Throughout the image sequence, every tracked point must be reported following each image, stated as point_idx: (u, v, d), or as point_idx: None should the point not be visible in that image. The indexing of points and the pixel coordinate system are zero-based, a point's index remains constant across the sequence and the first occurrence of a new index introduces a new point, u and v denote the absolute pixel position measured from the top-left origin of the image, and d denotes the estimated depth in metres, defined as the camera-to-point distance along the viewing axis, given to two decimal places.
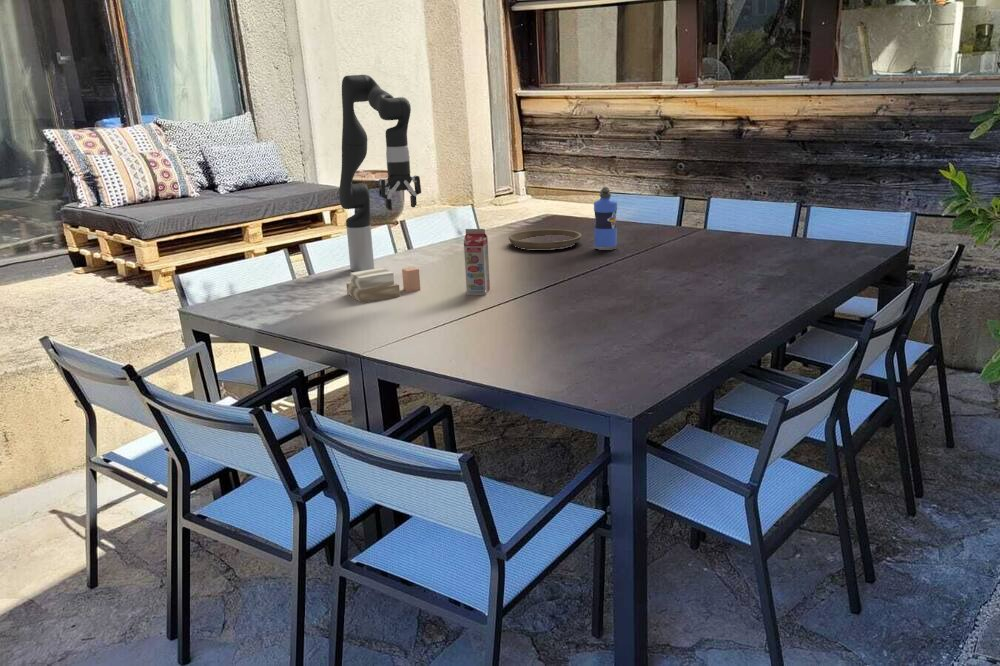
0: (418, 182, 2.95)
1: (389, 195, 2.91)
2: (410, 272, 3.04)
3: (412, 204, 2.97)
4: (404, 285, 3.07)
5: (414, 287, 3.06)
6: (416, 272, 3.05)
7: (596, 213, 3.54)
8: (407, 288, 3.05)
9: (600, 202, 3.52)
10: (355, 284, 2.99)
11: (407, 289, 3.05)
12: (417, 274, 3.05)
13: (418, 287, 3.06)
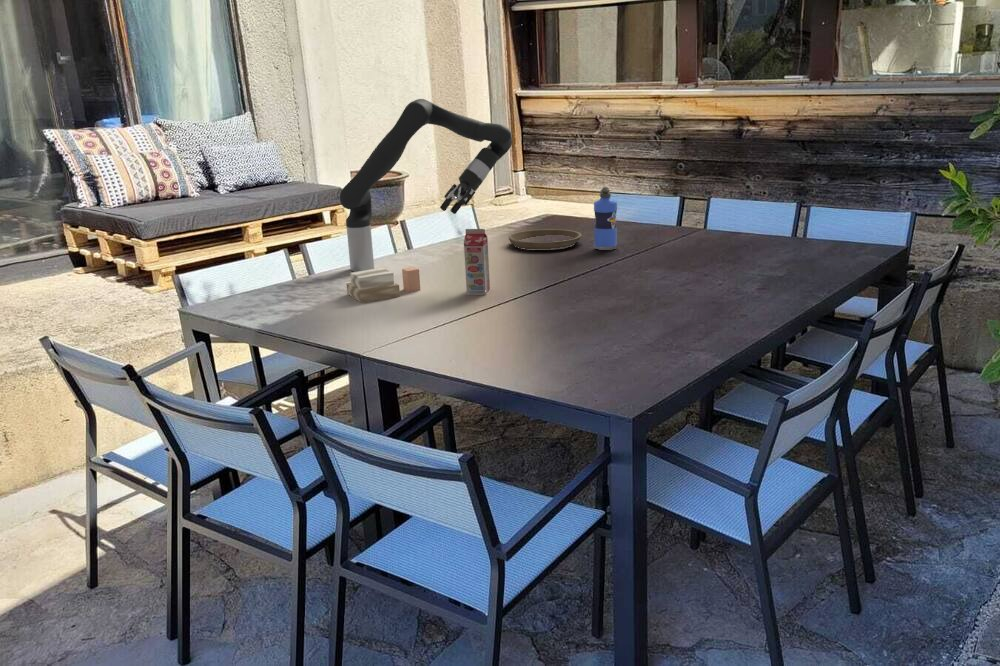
0: None
1: None
2: (410, 272, 3.04)
3: (444, 208, 3.11)
4: (404, 285, 3.07)
5: (414, 287, 3.06)
6: (416, 272, 3.05)
7: (596, 213, 3.54)
8: (407, 288, 3.05)
9: (600, 202, 3.52)
10: (355, 284, 2.99)
11: (407, 289, 3.05)
12: (417, 274, 3.05)
13: (418, 287, 3.06)
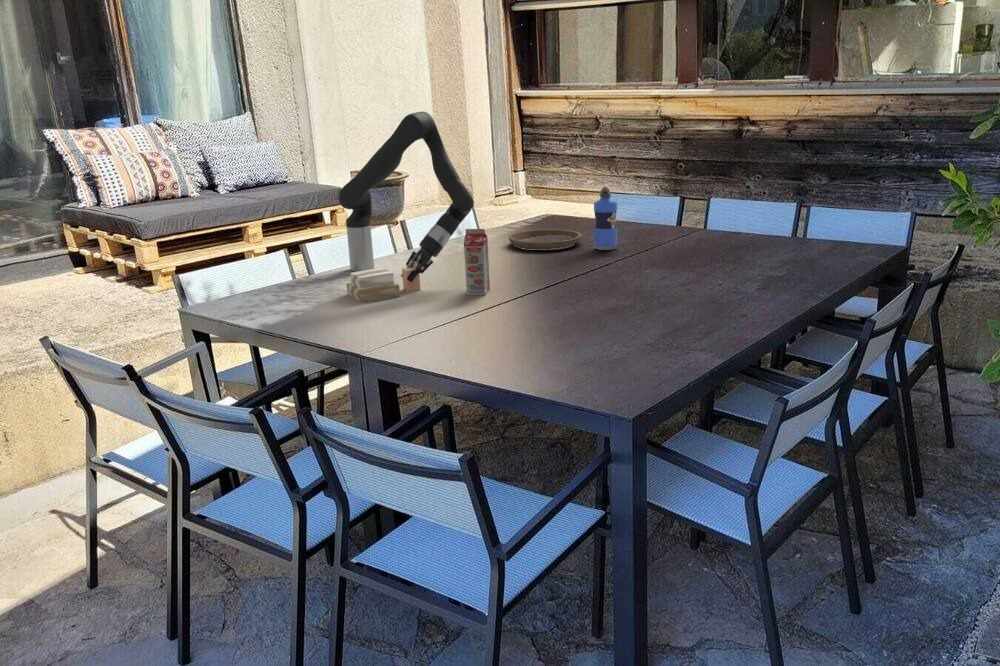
0: None
1: None
2: (410, 272, 3.04)
3: None
4: (404, 285, 3.07)
5: (414, 287, 3.06)
6: None
7: (596, 213, 3.54)
8: (407, 288, 3.05)
9: (600, 202, 3.52)
10: (355, 284, 2.99)
11: (407, 289, 3.06)
12: None
13: (418, 287, 3.06)
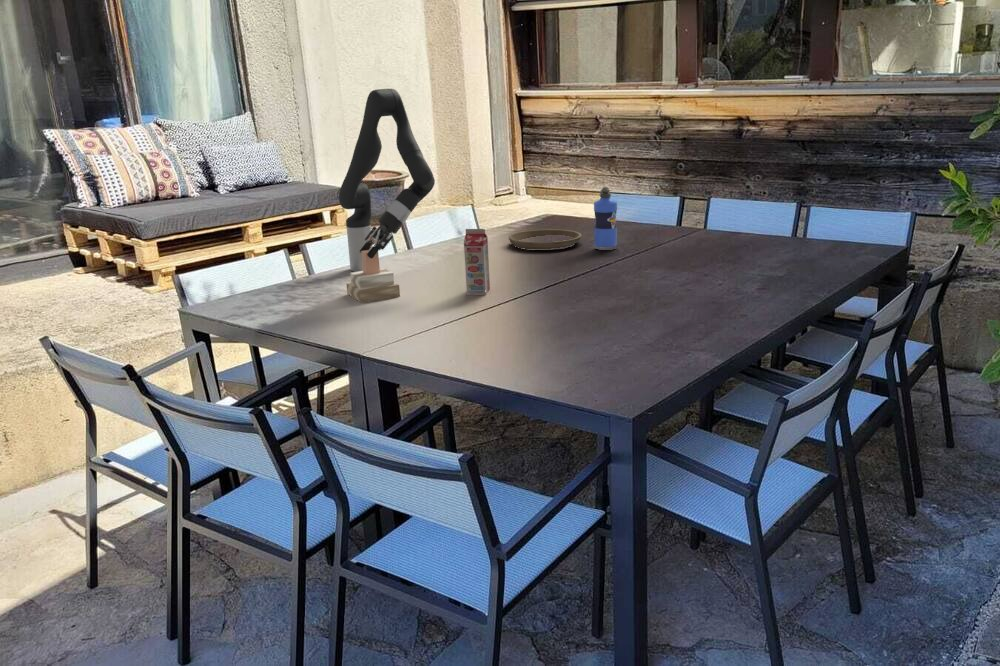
0: None
1: None
2: None
3: None
4: (363, 268, 3.00)
5: (373, 270, 2.98)
6: (375, 254, 2.97)
7: (596, 213, 3.54)
8: (366, 271, 2.98)
9: (600, 202, 3.52)
10: (355, 284, 2.99)
11: (366, 272, 2.98)
12: (376, 256, 2.97)
13: (377, 270, 2.99)
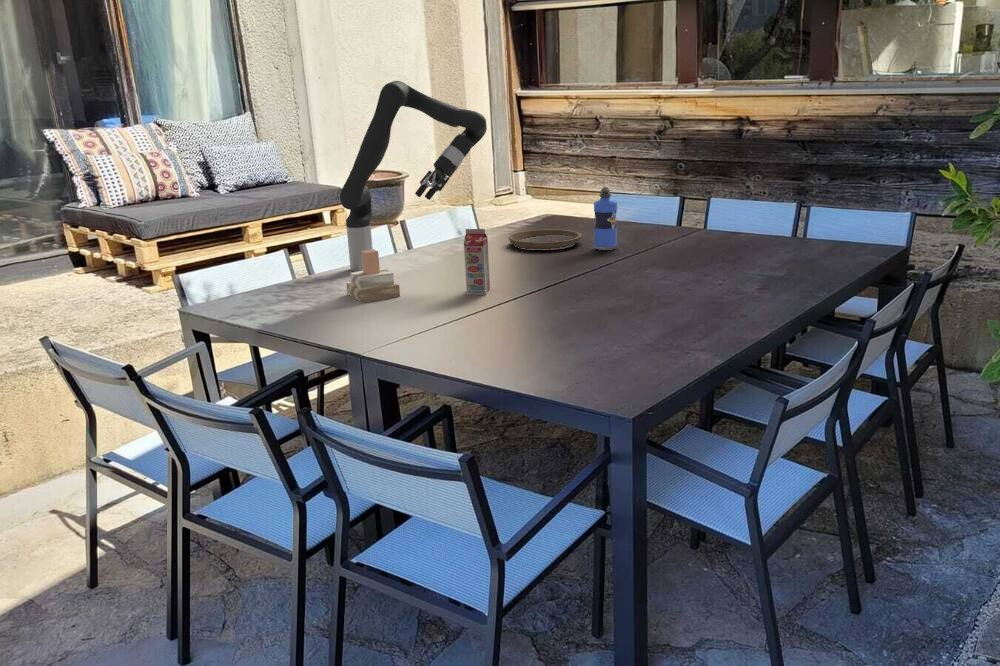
0: None
1: None
2: (369, 254, 2.96)
3: (419, 194, 3.13)
4: (363, 268, 3.00)
5: (373, 270, 2.98)
6: (375, 254, 2.97)
7: (596, 213, 3.54)
8: (366, 271, 2.98)
9: (600, 202, 3.52)
10: (355, 284, 2.99)
11: (366, 272, 2.98)
12: (376, 256, 2.97)
13: (377, 270, 2.99)
